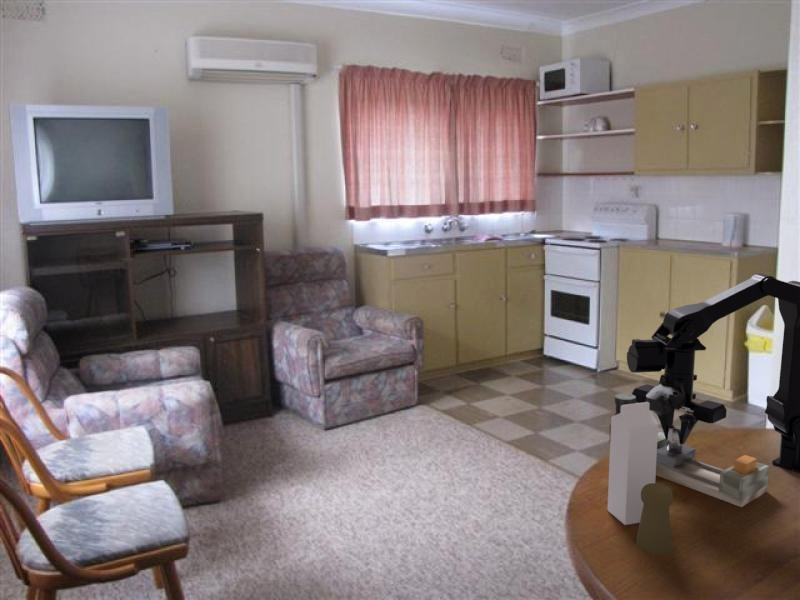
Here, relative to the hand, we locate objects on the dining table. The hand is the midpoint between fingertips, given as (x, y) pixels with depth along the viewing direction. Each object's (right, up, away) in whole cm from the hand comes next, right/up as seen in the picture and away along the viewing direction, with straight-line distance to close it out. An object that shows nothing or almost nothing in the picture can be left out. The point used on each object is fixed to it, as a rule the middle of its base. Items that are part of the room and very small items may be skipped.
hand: (675, 441), depth 154 cm
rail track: (+3, -7, -3) cm, 8 cm away
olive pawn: (-14, -13, -28) cm, 34 cm away
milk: (-15, -11, -18) cm, 26 cm away
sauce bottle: (-13, -9, -7) cm, 17 cm away
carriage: (0, -4, +1) cm, 4 cm away
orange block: (+9, -4, -11) cm, 15 cm away
